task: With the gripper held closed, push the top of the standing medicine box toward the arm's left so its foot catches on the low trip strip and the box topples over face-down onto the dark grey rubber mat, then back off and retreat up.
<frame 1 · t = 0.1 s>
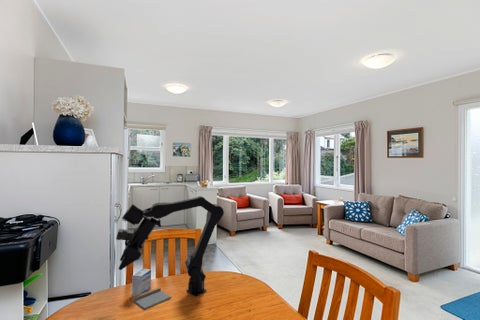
hand: (120, 264, 104), 15 cm above the table, tool tilted 30°, fingers open, 9 cm apart
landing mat: (153, 300, 106), on the table
medicine box: (141, 292, 113), on the table
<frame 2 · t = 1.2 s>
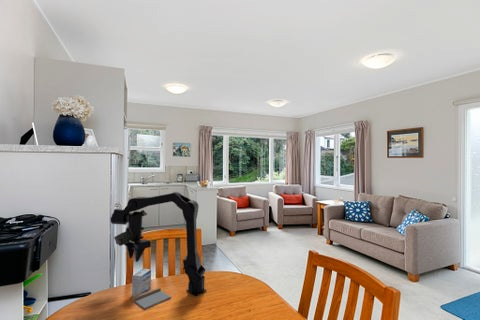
hand: (133, 259, 118), 12 cm above the table, tool pointing down, fingers open, 5 cm apart
nothing on the table moved.
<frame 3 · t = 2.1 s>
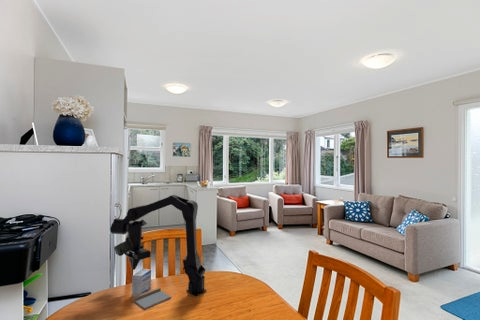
hand: (133, 269, 118), 8 cm above the table, tool pointing down, fingers closed
nothing on the table moved.
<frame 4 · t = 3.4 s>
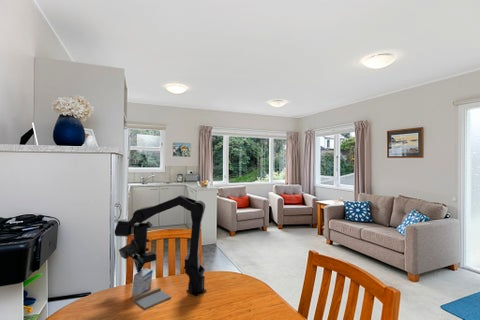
hand: (138, 272, 115), 8 cm above the table, tool pointing down, fingers closed
medicine box: (141, 292, 113), on the table, touching gripper
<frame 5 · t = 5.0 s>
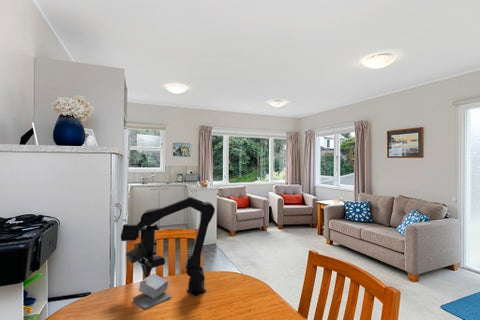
hand: (146, 277, 111), 7 cm above the table, tool pointing down, fingers closed
medicine box: (145, 281, 113), point 5 cm above the table, touching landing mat
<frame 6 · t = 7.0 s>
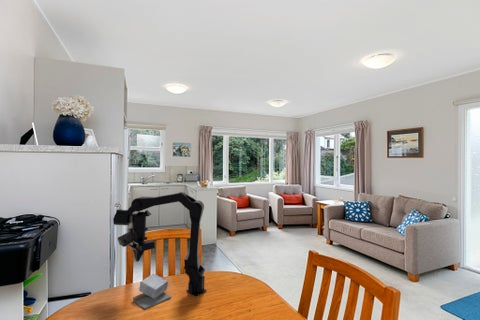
hand: (137, 261, 115), 13 cm above the table, tool pointing down, fingers closed
nothing on the table moved.
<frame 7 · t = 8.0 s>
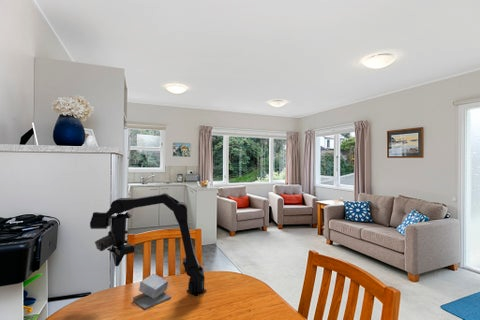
hand: (116, 266, 109), 12 cm above the table, tool pointing down, fingers closed
nothing on the table moved.
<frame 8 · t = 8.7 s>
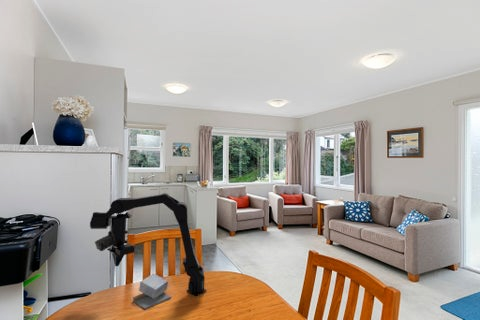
hand: (116, 266, 109), 12 cm above the table, tool pointing down, fingers closed
nothing on the table moved.
at the end: medicine box tilted 103°; medicine box inside the target area on the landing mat (5.1 cm from its centre), point 4.8 cm above the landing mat's base; medicine box moved 5.1 cm from its start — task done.
